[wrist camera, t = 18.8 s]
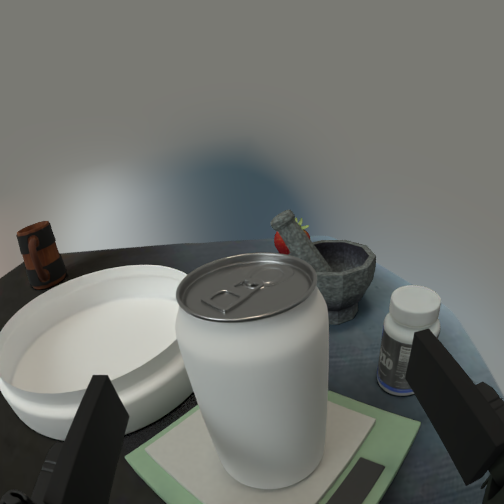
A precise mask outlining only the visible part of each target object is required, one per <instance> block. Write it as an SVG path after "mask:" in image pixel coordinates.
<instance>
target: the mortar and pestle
mask: <svg viewBox="0 0 504 504" xmlns="http://www.w3.org/2000/svg"><path fill="white" fill-rule="evenodd" d="M271 226H272V228H273V229H274V230H276V231H278V233H279V234H280V236H281V237H282V239H283V241H284V242H285V244H286V246H287V247H288V249H289V251H290V252H291V253H289V254H288V255H290V256H294V257H297V258H300V259H302V260H304V261H306V262H307V263H309V264H310V265H311V266H312V267H313V268H314V270H315V271H316V274H317V284H316V286H317V287H318V289H319V291H320V292H321V294H322V296H323V298H324V300H325V302H326V305H327V309H328V320H329V324H341V323H343V322H346V321H349V320H351V319H353V318H354V316H355V314H356V313H357V311H358V302H359V301H360V300H361V298H362V297H363V295H364V293H365V292H366V290H367V288H368V287H369V285H370V284H371V282H372V280H373V277H374V272H375V267H376V255H375V254H374V253H373V252H372V251H371V250H370V249H369V248H368V247H367V246H366V245H362V244H359V243H354V242H351V241H347V240H321V241H317V242H313V243H312V242H311V240H310V239H309V238H308V236H307V235H306V234H305V232H304V231H303V230H302V228H301V227H300V226H299V225H298V223H297V222H296V221H295V216H294V214H293V212H292V211H291V210H286V211H284V212H282V213H280V214H278V215H277V216H276V217H275V218H274V219H273V220H272V221H271Z"/></svg>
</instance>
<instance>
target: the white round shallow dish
mask: <svg viewBox="0 0 504 504" xmlns="http://www.w3.org/2000/svg"><path fill="white" fill-rule="evenodd" d="M186 276H187V274H185V273H183V272H181V271H179V270H176V269H173V268H169V267H164V266H157V265H132V266H123V267H116V268H110V269H106V270H101V271H97V272H93V273H90V274H87V275H83V276H81V277H78V278H75V279H72V280H70V281H67V282H65V283H63V284H60V285H58V286H56V287H54V288H52V289H50V290H48V291H46V292H45V293H43V294H41V295H40V296H38V297H36V298H35V299H33V300H32V301H30V302H29V303H28V304H26V305H25V306H24V307H23V308H21V309H20V310H19V311H18V312H17V313H16V314H15V315H14V316H13V317H12V318H11V319H10V320H9V321H8V322H7V323H6V325H5V326H4V327H3V329H2V330H1V332H0V390H1V392H2V394H3V396H4V397H5V399H6V400H7V402H8V403H9V404H10V406H11V407H12V409H13V410H14V411H15V413H16V414H17V415H18V417H19V418H20V419H21V420H22V421H23V422H24V423H25V424H26V425H27V426H29V427H30V428H31V429H33V430H35V431H36V432H38V433H40V434H42V435H45V436H47V437H50V438H54V439H57V440H63V441H65V438H66V436H67V434H68V431H69V429H70V426H71V424H72V421H73V419H74V417H75V414H76V412H77V410H78V407H79V405H80V403H81V400H82V398H83V396H84V394H85V391H86V389H87V387H88V385H89V382H90V380H91V378H92V376H93V375H108V376H109V378H110V380H111V382H112V384H113V386H114V388H115V390H116V392H117V394H118V396H119V398H120V400H121V401H122V403H123V405H124V407H125V409H126V410H127V412H128V414H129V416H130V417H129V421H128V424H127V428H126V432H125V434H128V433H131V432H133V431H136V430H139V429H141V428H143V427H145V426H147V425H149V424H151V423H153V422H155V421H157V420H158V419H160V418H162V417H163V416H165V415H166V414H168V413H169V412H171V411H172V410H173V409H175V408H176V407H177V406H178V405H180V404H181V403H182V402H183V401H184V400H185V399H186V398H187V397H189V396H190V395H191V393H192V392H193V388H192V385H191V383H190V380H189V377H188V374H187V371H186V368H185V364H184V361H183V358H182V355H181V352H180V348H179V345H178V341H177V337H176V331H175V324H176V317H177V313H178V309H179V304H178V303H177V300H176V290H177V287H178V285H179V283H180V282H181V281H182V280H183V279H184V278H185V277H186Z"/></svg>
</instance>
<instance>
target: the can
mask: <svg viewBox="0 0 504 504" xmlns="http://www.w3.org/2000/svg"><path fill="white" fill-rule="evenodd" d="M316 284H317V274H316V271H315V270H314V268H313V267H312V266H311V265H310V264H309V263H307V262H306V261H304V260H302V259H300V258H297V257H294V256H290V255H286V254H279V253H248V254H240V255H234V256H230V257H226V258H222V259H219V260H215V261H213V262H210V263H207V264H205V265H203V266H201V267H199V268H197V269H195V270H194V271H192V272H191V273H189V274H188V275H187V276H186V277H185V278H184V279H183V280H182V281H181V282H180V283H179V285H178V287H177V290H176V300H177V303H178V304H179V309H178V313H177V317H176V324H175V331H176V337H177V341H178V345H179V348H180V352H181V355H182V358H183V361H184V364H185V368H186V371H187V374H188V377H189V380H190V383H191V385H192V388H193V391H194V394H195V397H196V400H197V402H198V405H199V408H200V411H201V413H202V416H203V419H204V421H205V424H206V427H207V429H208V432H209V434H210V437H211V439H212V442H213V444H214V447H215V449H216V451H217V454H218V456H219V458H220V461H221V463H222V465H223V467H224V468H225V470H226V471H227V472H228V473H229V474H230V475H231V476H232V477H233V478H234V479H235V480H237V481H239V482H240V483H242V484H245V485H247V486H250V487H254V488H259V489H278V488H283V487H287V486H290V485H293V484H295V483H297V482H299V481H301V480H303V479H304V478H306V477H307V476H308V475H309V474H311V473H312V472H313V471H314V469H315V468H316V467H317V466H318V464H319V462H320V460H321V458H322V456H323V452H324V446H325V435H326V420H327V401H328V371H329V320H328V309H327V305H326V302H325V300H324V298H323V296H322V294H321V292H320V291H319V289H318V287H317V286H316Z"/></svg>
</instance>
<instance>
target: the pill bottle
mask: <svg viewBox="0 0 504 504" xmlns="http://www.w3.org/2000/svg"><path fill="white" fill-rule="evenodd" d="M440 305H441V300H440V297H439V295H438V294H437V293H436V292H434V291H433V290H431V289H429V288H426V287H422V286H416V285H408V286H403V287H400V288H398V289H396V290H395V291H394V292H393V293H392V295H391V301H390V307H389V311H390V312H389V313H388V314H387V316H386V318H385V320H384V325H383V333H382V342H381V349H380V356H379V363H378V369H377V380H378V383H379V385H380V387H382V388H383V389H384V390H385V391H386V392H388V393H390V394H393V395H398V396H407V395H411V394H414V392H413V391H412V389H411V387H410V386H409V384H408V382H407V381H406V379H405V375H406V371H407V366H408V362H409V357H410V352H411V347H412V342H413V337H414V332H418V331H421V330H425V329H428V328H429V329H430V330H431V332H432V333H433V334H434V335H435V336H436V337H437V339H438V337H439V333H440V322H439V319H438V316H439V311H440Z"/></svg>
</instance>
